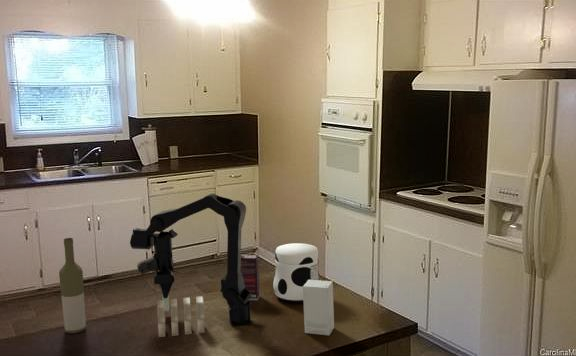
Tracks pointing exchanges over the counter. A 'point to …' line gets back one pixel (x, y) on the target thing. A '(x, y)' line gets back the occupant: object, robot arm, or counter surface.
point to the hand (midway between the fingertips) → (165, 295)
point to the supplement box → (251, 274)
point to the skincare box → (318, 307)
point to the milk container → (294, 270)
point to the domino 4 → (187, 315)
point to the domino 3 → (174, 317)
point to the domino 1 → (161, 318)
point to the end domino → (200, 314)
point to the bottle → (72, 291)
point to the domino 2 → (166, 303)
